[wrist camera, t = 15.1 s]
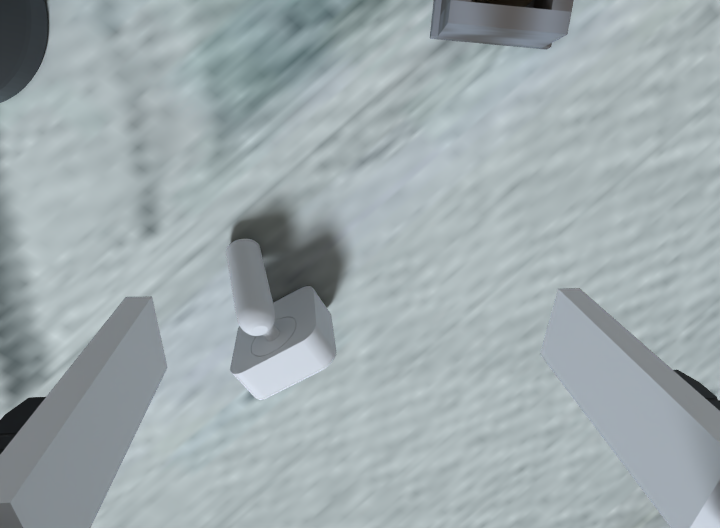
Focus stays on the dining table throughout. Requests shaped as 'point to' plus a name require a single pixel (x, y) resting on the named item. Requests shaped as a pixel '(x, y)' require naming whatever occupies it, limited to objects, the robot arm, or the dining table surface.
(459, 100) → the dining table surface
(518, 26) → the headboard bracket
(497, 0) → the beige wooden tall block
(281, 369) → the wall hook
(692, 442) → the robot arm
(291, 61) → the dining table surface
